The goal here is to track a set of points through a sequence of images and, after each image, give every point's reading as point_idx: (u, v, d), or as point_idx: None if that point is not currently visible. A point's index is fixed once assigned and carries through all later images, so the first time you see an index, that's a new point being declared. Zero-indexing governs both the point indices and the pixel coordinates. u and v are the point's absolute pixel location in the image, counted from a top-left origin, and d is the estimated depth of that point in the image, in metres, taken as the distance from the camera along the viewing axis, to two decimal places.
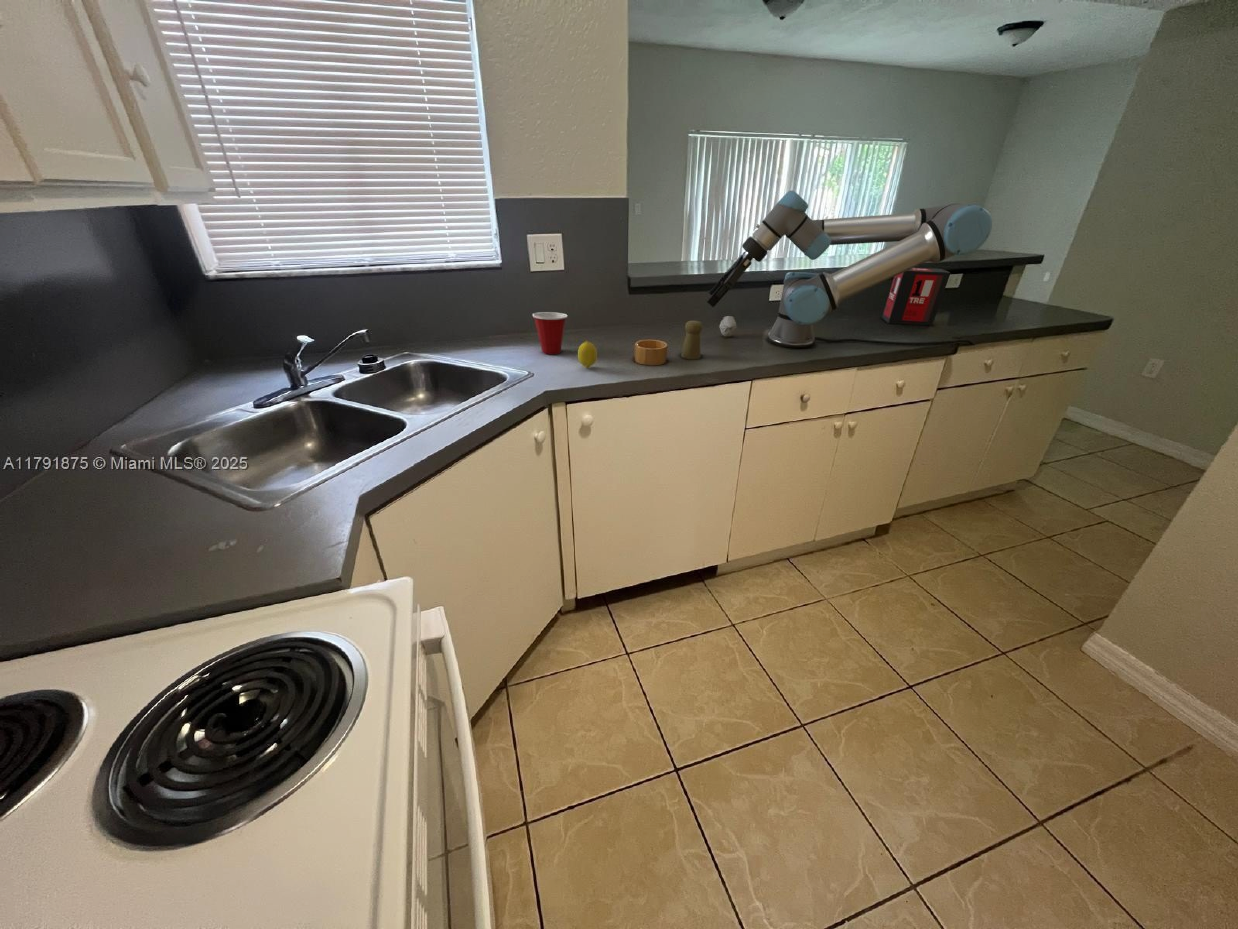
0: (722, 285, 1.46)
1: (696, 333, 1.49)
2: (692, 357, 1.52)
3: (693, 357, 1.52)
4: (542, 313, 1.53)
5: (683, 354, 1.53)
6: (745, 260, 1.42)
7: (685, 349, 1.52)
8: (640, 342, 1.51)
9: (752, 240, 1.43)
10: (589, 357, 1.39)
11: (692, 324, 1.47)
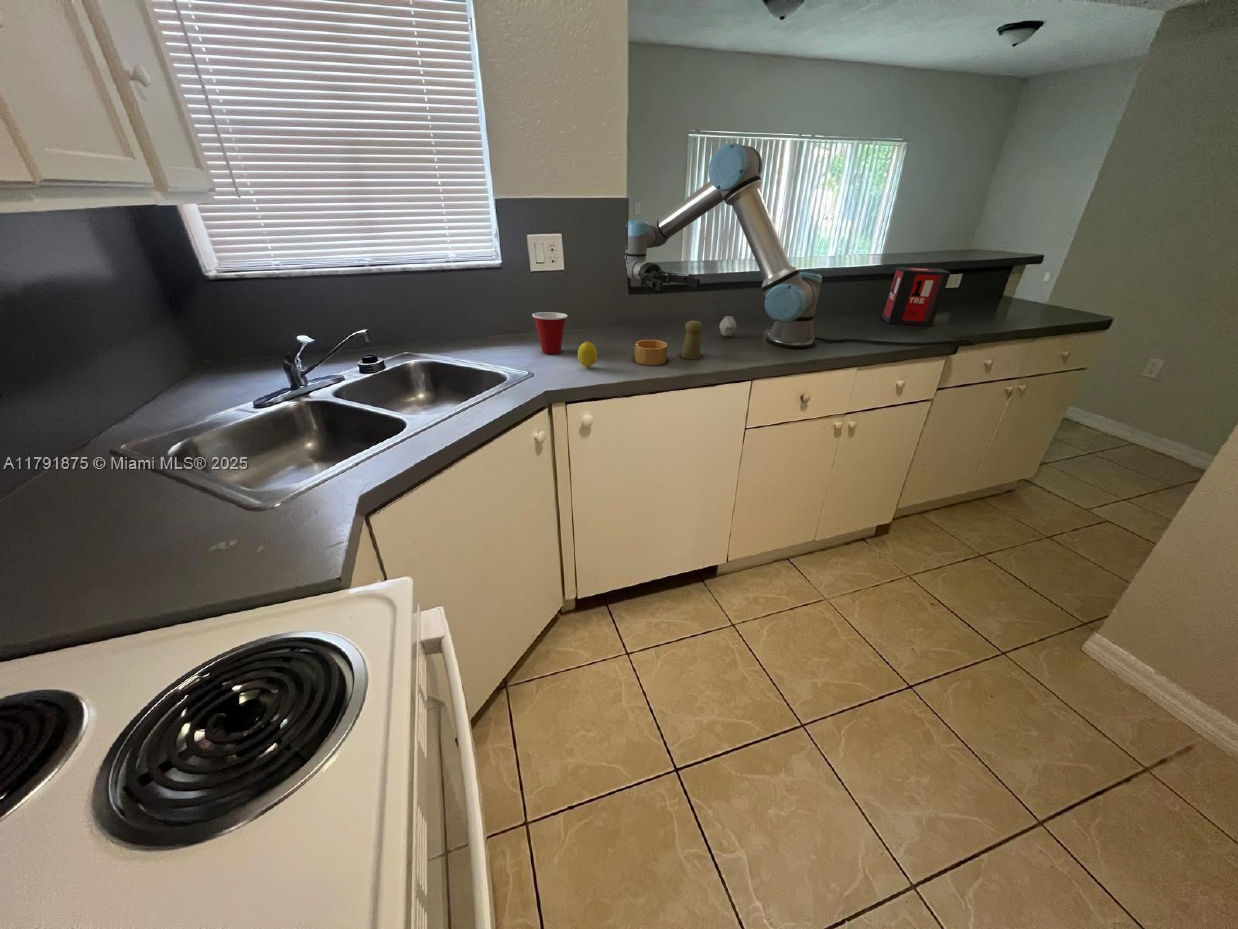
0: (647, 286, 1.54)
1: (696, 333, 1.49)
2: (692, 357, 1.52)
3: (693, 357, 1.52)
4: (542, 313, 1.53)
5: (683, 354, 1.53)
6: (637, 279, 1.62)
7: (685, 349, 1.52)
8: (640, 342, 1.51)
9: None
10: (589, 357, 1.39)
11: (692, 324, 1.47)
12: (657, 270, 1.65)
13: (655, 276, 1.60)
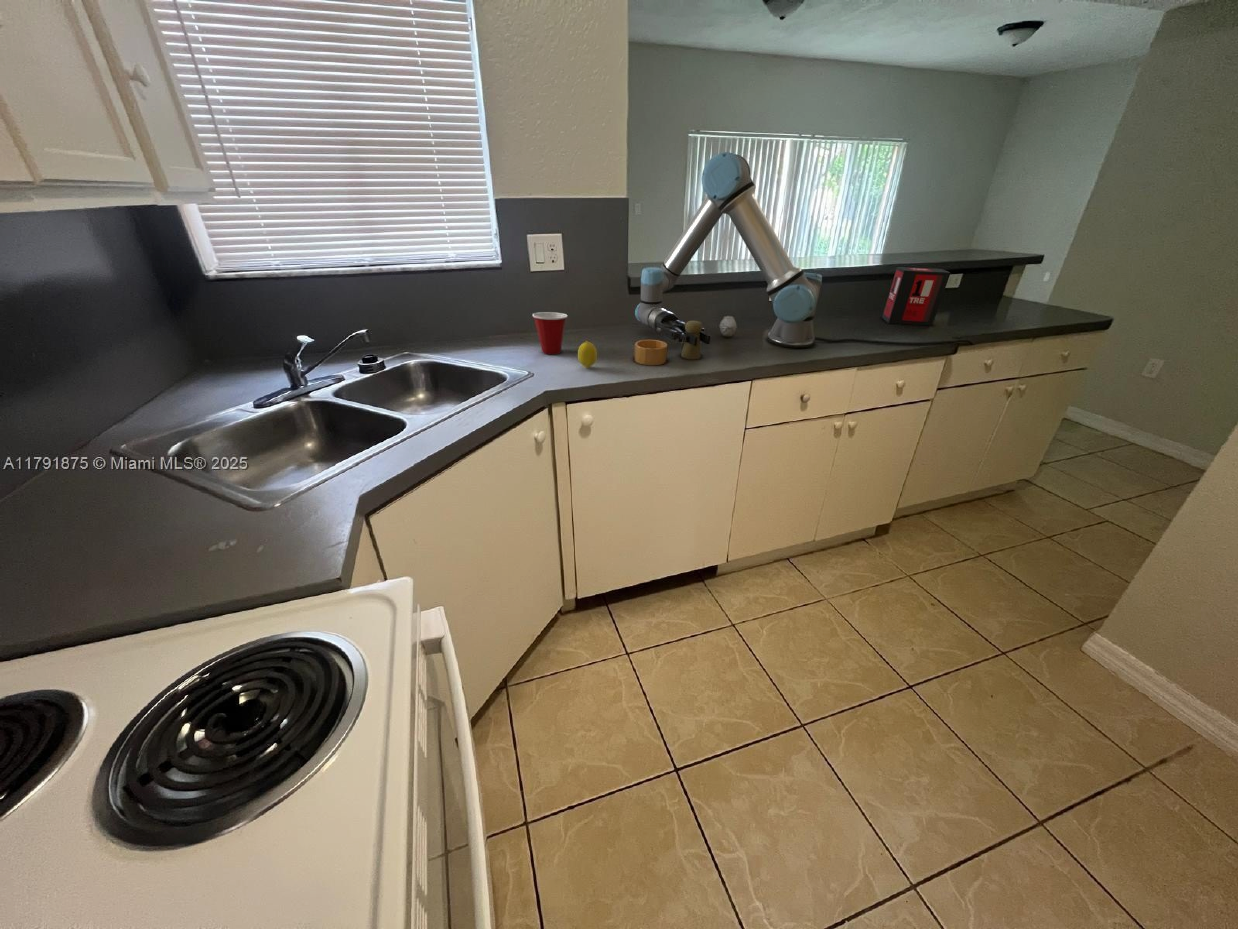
0: (681, 339, 1.51)
1: (696, 333, 1.49)
2: (692, 357, 1.52)
3: (693, 357, 1.52)
4: (542, 313, 1.53)
5: (683, 354, 1.53)
6: (657, 331, 1.57)
7: (685, 349, 1.52)
8: (640, 342, 1.51)
9: None
10: (589, 357, 1.39)
11: (692, 324, 1.47)
12: (673, 319, 1.62)
13: None
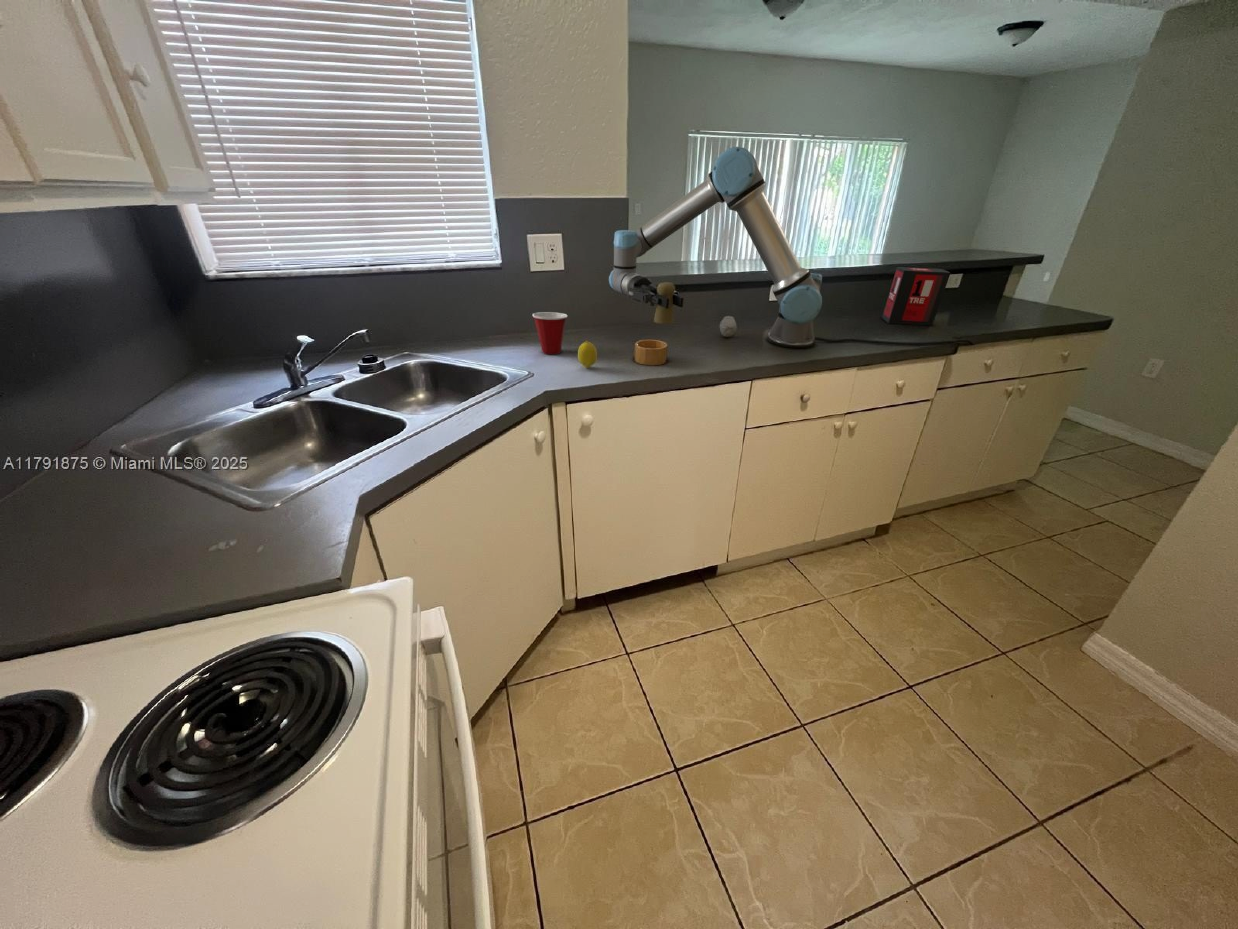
0: (653, 302, 1.43)
1: (668, 295, 1.40)
2: (665, 322, 1.43)
3: (666, 322, 1.43)
4: (542, 313, 1.53)
5: (655, 319, 1.44)
6: (629, 295, 1.49)
7: (658, 313, 1.43)
8: (640, 342, 1.51)
9: None
10: (589, 357, 1.39)
11: (664, 285, 1.39)
12: (647, 284, 1.53)
13: None
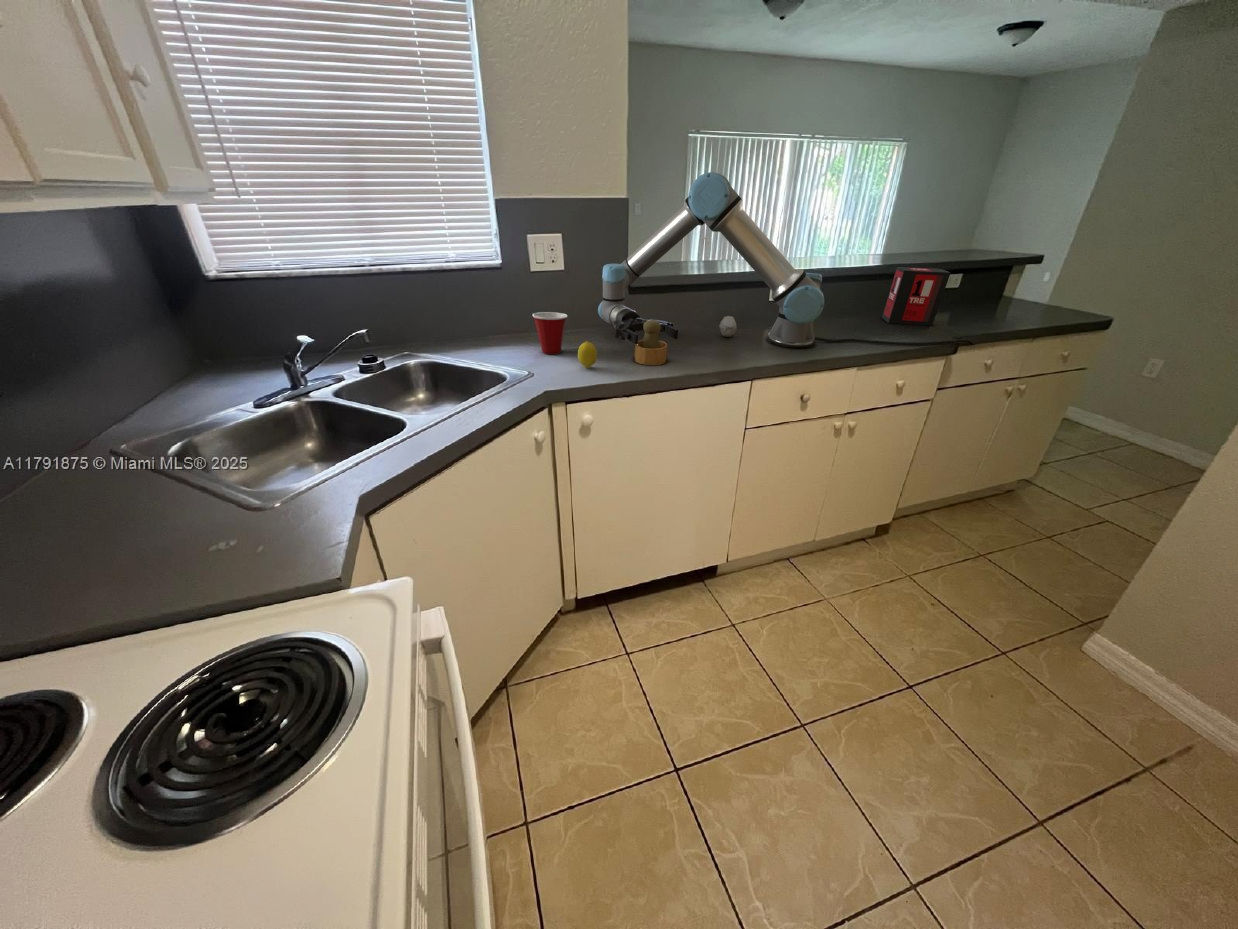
0: (623, 337, 1.47)
1: (654, 333, 1.44)
2: None
3: None
4: (542, 313, 1.53)
5: None
6: (614, 327, 1.54)
7: None
8: (640, 342, 1.51)
9: None
10: (589, 357, 1.39)
11: (650, 324, 1.43)
12: (635, 317, 1.57)
13: (632, 325, 1.52)
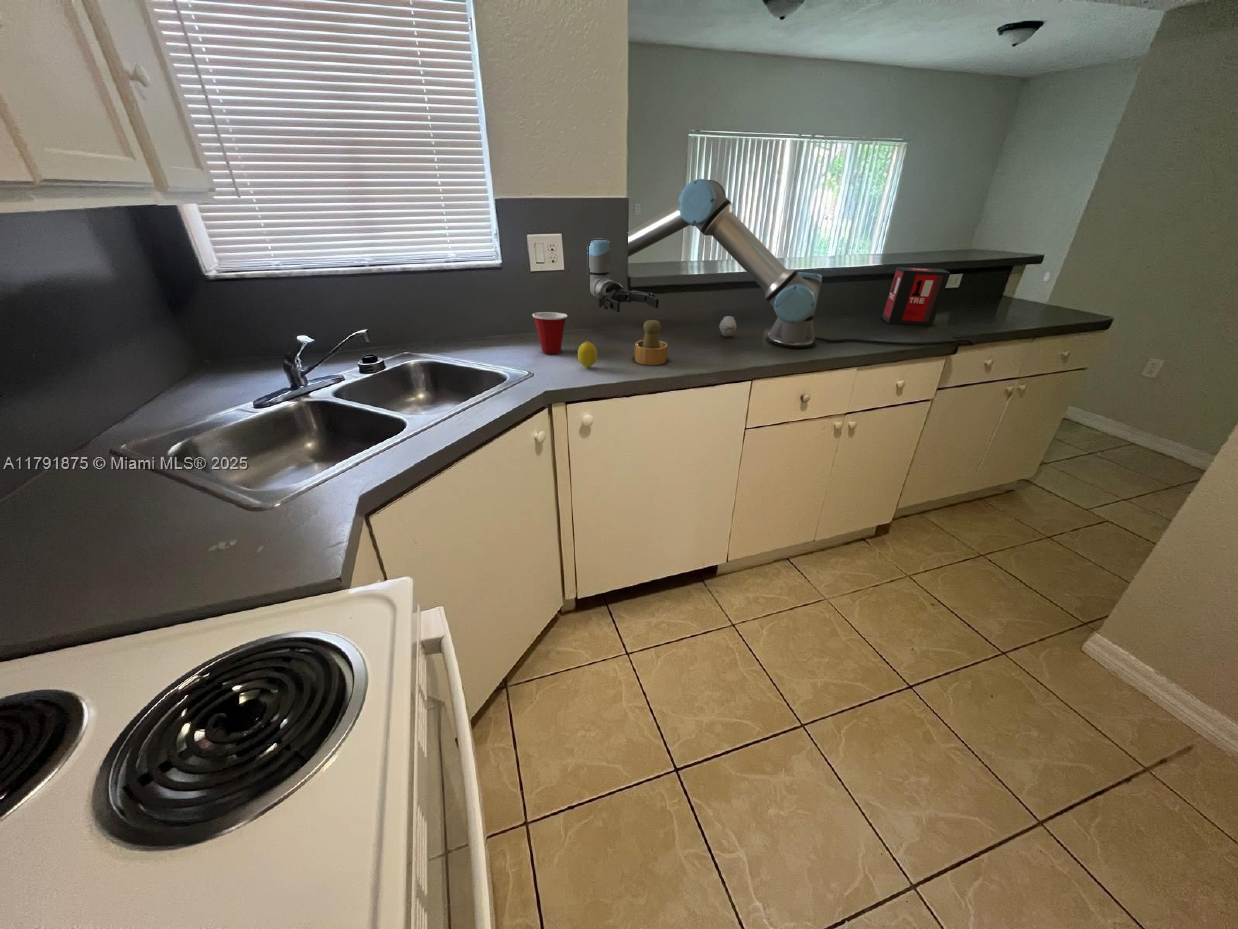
0: (606, 306, 1.53)
1: (654, 333, 1.44)
2: None
3: None
4: (542, 313, 1.53)
5: None
6: None
7: None
8: (640, 342, 1.51)
9: None
10: (589, 357, 1.39)
11: (650, 324, 1.43)
12: (618, 289, 1.64)
13: (615, 295, 1.59)
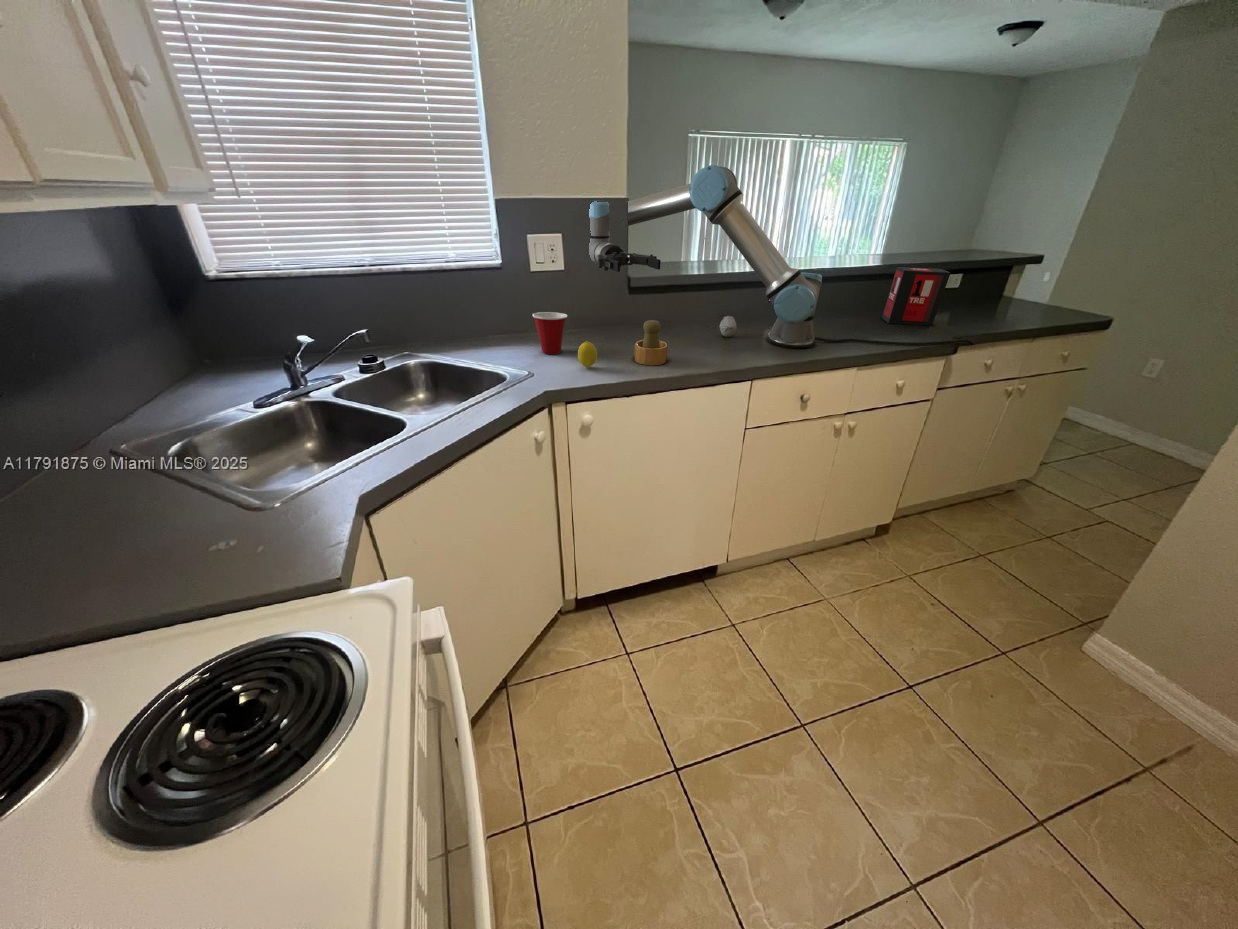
0: (606, 267, 1.47)
1: (654, 333, 1.44)
2: None
3: None
4: (542, 313, 1.53)
5: None
6: (597, 261, 1.55)
7: None
8: (640, 342, 1.51)
9: None
10: (589, 357, 1.39)
11: (650, 324, 1.43)
12: (619, 252, 1.58)
13: (615, 258, 1.53)
